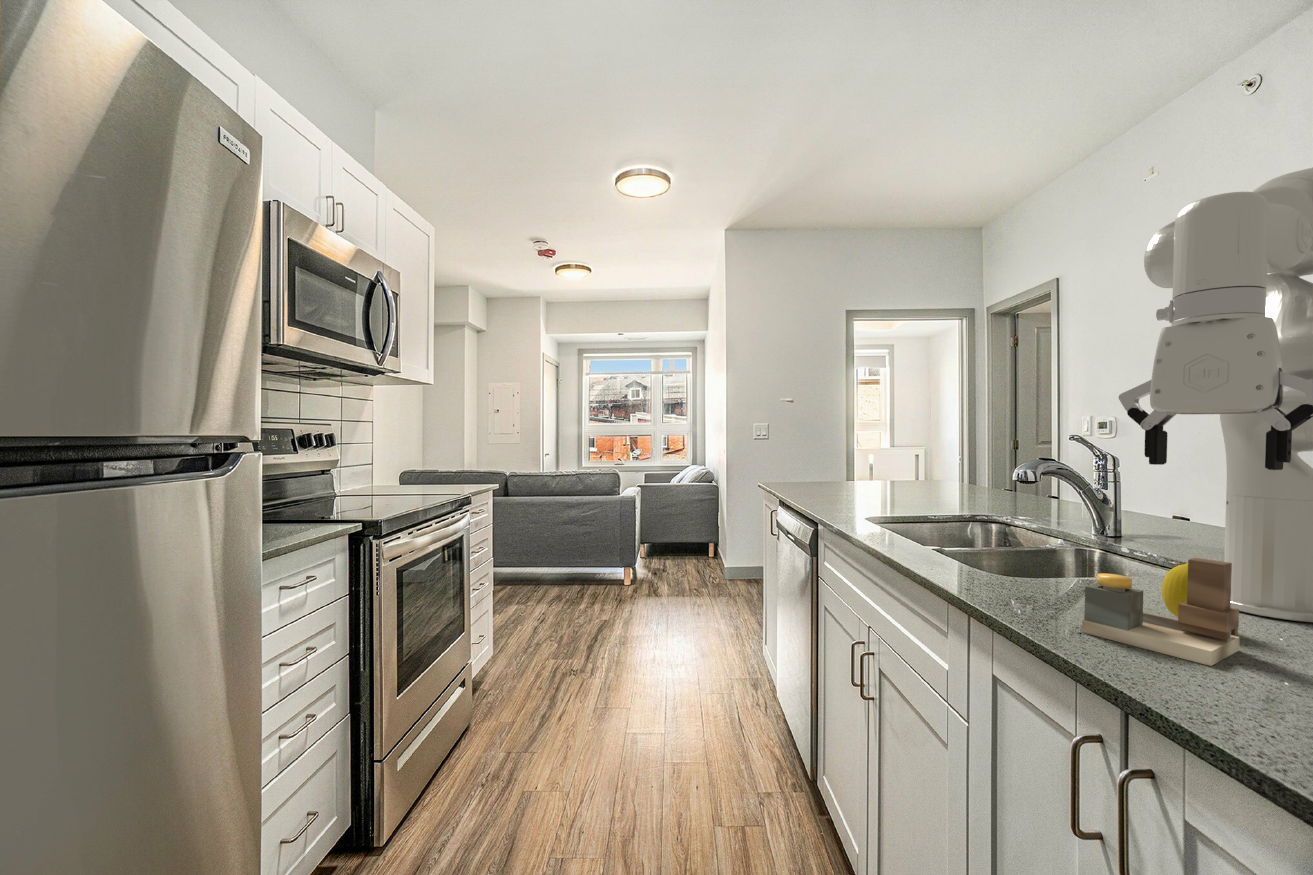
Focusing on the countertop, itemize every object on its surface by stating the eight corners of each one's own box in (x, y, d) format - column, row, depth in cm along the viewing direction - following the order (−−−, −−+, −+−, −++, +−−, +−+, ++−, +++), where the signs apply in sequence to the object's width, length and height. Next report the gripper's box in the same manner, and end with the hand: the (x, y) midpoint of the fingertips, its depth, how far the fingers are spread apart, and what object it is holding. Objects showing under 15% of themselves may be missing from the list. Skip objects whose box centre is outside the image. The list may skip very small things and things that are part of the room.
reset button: (1103, 613, 71) (1104, 572, 71) (1135, 621, 68) (1136, 578, 68) (1091, 617, 69) (1092, 575, 69) (1123, 625, 67) (1125, 581, 66)
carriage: (1190, 623, 68) (1192, 556, 68) (1238, 634, 64) (1240, 563, 64) (1177, 629, 66) (1179, 559, 66) (1226, 640, 62) (1228, 566, 62)
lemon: (1232, 635, 70) (1235, 568, 70) (1179, 630, 71) (1181, 565, 71) (1200, 620, 75) (1202, 558, 75) (1150, 617, 76) (1152, 555, 76)
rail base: (1114, 621, 74) (1115, 577, 74) (1239, 650, 65) (1240, 600, 65) (1081, 632, 70) (1083, 586, 70) (1211, 665, 60) (1212, 612, 60)
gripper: (1109, 319, 70) (1105, 462, 70) (1326, 291, 55) (1320, 472, 55) (1135, 327, 74) (1131, 462, 74) (1343, 302, 59) (1338, 471, 59)
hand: (1212, 466), depth 65 cm, fingers open, 9 cm apart
